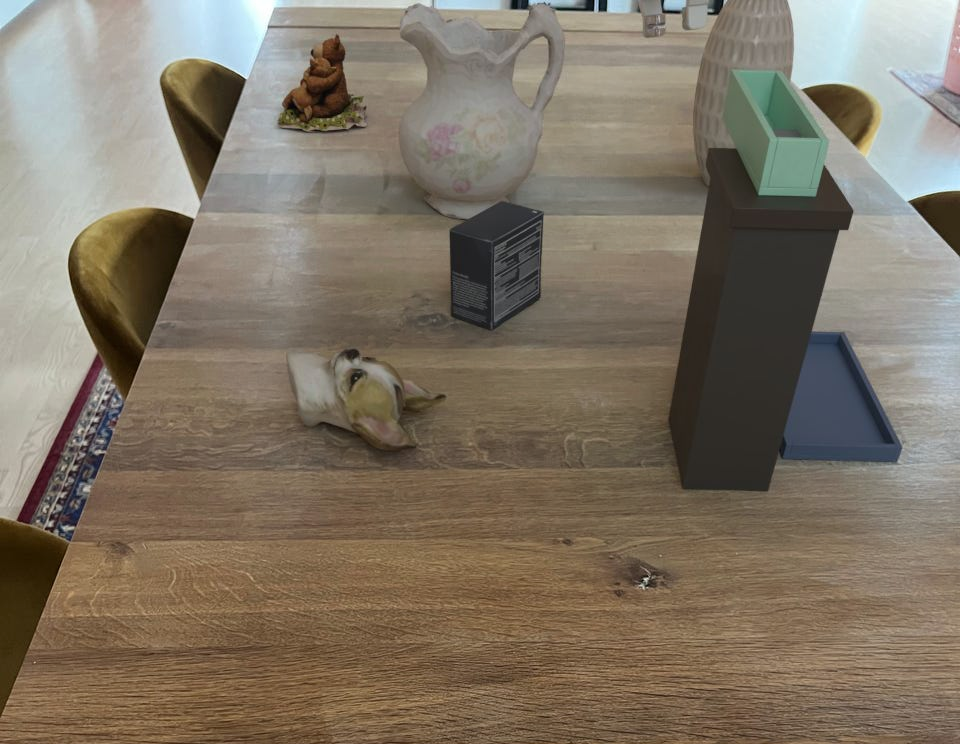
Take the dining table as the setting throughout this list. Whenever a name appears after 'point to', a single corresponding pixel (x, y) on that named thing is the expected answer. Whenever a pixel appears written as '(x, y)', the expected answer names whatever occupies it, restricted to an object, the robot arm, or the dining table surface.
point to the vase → (737, 63)
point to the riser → (748, 323)
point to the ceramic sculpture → (356, 395)
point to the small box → (496, 264)
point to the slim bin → (774, 133)
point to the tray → (836, 408)
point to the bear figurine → (323, 94)
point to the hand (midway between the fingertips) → (673, 33)
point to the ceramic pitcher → (474, 108)
